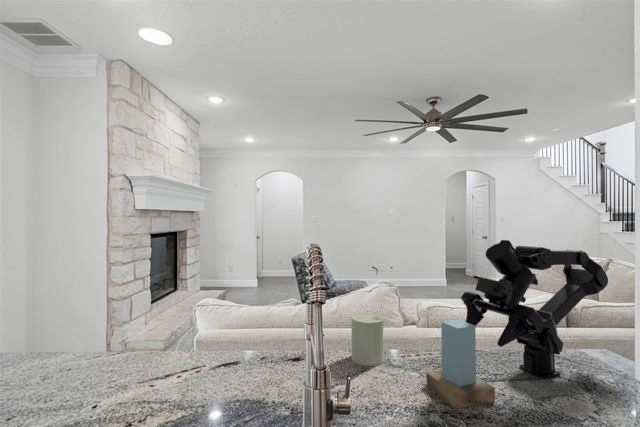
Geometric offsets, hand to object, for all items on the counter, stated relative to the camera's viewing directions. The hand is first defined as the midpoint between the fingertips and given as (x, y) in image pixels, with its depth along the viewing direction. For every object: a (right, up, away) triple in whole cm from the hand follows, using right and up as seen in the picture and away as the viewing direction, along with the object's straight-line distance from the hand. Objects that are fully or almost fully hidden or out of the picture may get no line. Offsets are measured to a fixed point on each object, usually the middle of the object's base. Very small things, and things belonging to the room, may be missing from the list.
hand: (481, 338), depth 75 cm
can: (-25, -12, +15) cm, 31 cm away
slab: (-7, -11, -3) cm, 13 cm away
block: (-7, -8, -3) cm, 11 cm away
